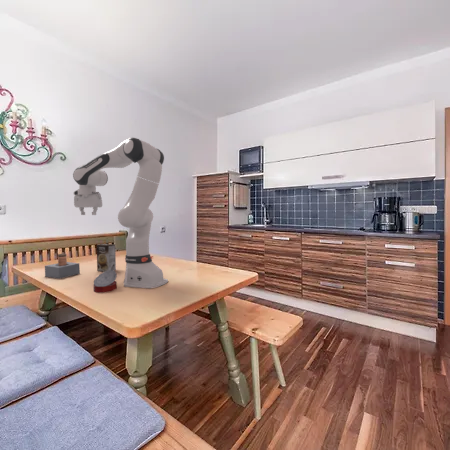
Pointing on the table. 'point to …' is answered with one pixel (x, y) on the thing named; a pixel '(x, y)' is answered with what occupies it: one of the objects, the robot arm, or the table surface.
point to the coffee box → (106, 257)
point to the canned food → (105, 282)
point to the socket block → (62, 270)
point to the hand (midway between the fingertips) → (88, 215)
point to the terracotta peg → (62, 259)
